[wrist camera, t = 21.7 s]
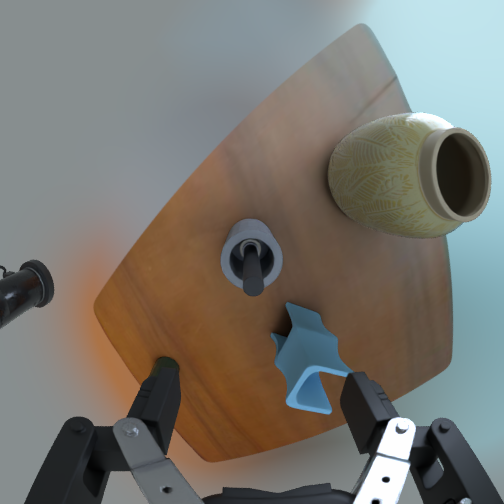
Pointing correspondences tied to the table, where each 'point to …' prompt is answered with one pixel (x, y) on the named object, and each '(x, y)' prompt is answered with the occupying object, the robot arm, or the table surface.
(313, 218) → the table surface
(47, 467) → the robot arm
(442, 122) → the vase
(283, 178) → the table surface
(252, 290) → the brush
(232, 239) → the cup
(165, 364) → the holder
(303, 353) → the blue bent piece
